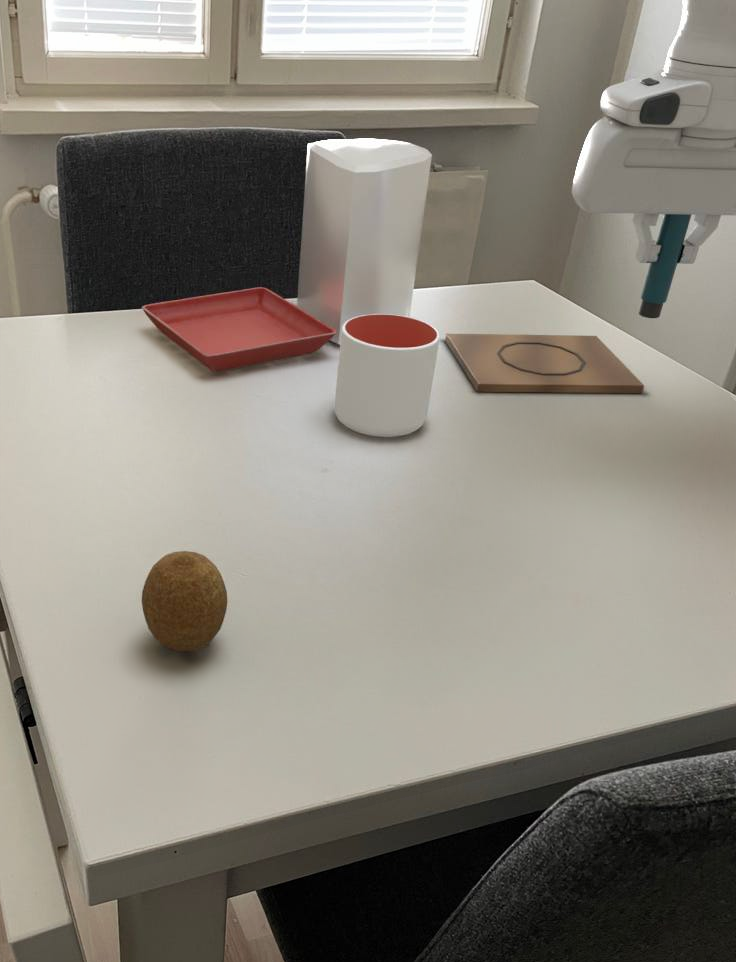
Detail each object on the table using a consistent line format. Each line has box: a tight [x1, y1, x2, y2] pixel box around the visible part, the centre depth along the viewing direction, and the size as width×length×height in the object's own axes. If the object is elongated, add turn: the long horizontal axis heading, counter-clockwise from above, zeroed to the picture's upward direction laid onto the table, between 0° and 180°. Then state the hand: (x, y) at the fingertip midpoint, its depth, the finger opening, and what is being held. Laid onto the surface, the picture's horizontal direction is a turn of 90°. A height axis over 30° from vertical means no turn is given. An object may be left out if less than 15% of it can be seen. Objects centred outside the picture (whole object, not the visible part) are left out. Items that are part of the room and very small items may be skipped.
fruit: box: [141, 550, 229, 652], centre depth 72 cm, size 6×6×8 cm
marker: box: [638, 214, 692, 319], centre depth 94 cm, size 2×2×13 cm
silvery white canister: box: [296, 138, 433, 345], centre depth 124 cm, size 15×14×22 cm
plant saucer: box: [141, 286, 336, 373], centre depth 122 cm, size 18×18×3 cm
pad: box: [444, 333, 645, 394], centre depth 121 cm, size 20×16×1 cm
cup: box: [333, 314, 441, 438], centre depth 104 cm, size 10×10×10 cm
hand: (663, 261), depth 95 cm, fingers closed on marker, 2 cm apart
